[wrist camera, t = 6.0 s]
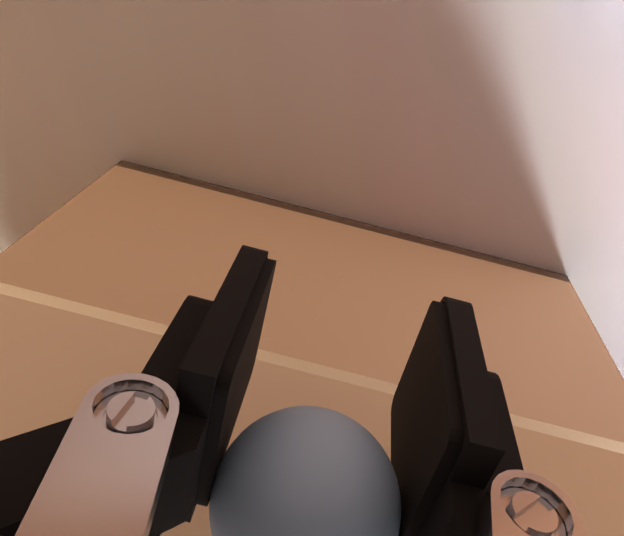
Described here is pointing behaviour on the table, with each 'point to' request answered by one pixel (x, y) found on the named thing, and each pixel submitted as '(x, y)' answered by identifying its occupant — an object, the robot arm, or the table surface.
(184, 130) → the table surface
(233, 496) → the near flap
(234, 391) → the robot arm
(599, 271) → the table surface
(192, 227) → the carton
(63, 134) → the table surface
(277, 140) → the table surface
